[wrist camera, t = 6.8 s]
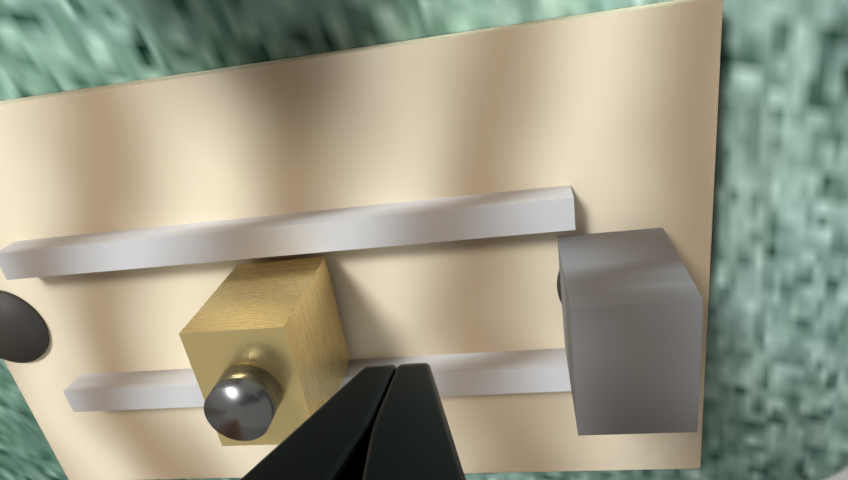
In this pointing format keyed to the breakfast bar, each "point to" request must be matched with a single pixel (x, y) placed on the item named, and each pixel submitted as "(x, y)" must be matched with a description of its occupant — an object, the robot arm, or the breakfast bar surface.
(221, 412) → the block
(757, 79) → the breakfast bar surface
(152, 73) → the breakfast bar surface
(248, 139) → the plate
